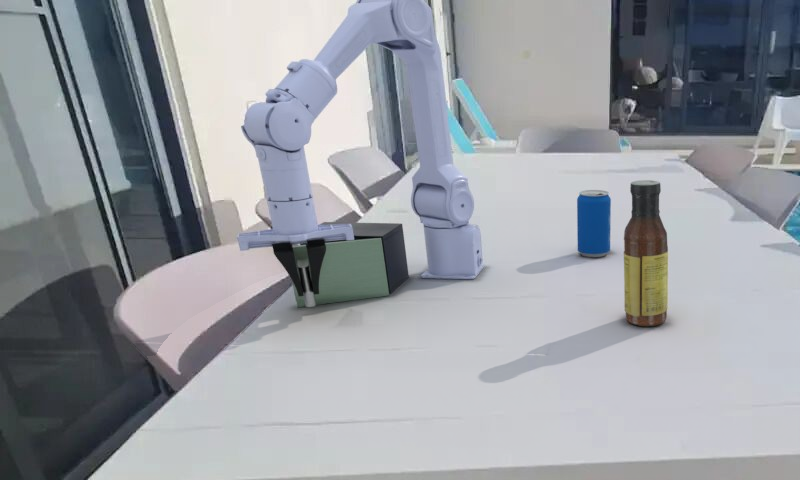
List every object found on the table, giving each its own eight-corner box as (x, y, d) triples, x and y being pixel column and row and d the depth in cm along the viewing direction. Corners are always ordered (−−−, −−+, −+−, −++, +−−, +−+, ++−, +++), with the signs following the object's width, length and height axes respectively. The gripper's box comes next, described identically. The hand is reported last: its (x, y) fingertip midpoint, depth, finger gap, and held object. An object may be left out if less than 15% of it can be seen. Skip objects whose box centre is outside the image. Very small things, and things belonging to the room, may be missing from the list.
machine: (390, 294, 104) (382, 236, 100) (309, 292, 104) (297, 234, 100) (409, 278, 112) (402, 223, 108) (333, 276, 112) (324, 221, 108)
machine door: (394, 306, 98) (386, 247, 94) (298, 319, 93) (285, 257, 89) (388, 294, 103) (380, 237, 99) (297, 305, 98) (285, 246, 94)
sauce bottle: (671, 316, 95) (678, 179, 87) (660, 330, 90) (667, 187, 82) (629, 310, 97) (632, 177, 89) (616, 325, 92) (618, 184, 84)
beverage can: (606, 259, 123) (607, 196, 118) (574, 257, 125) (573, 194, 119) (612, 250, 129) (613, 190, 124) (581, 248, 130) (581, 188, 125)
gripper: (228, 207, 80) (252, 309, 86) (350, 198, 86) (364, 294, 92) (230, 197, 86) (252, 293, 92) (344, 190, 92) (358, 280, 97)
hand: (308, 293), depth 92 cm, fingers closed on machine door
